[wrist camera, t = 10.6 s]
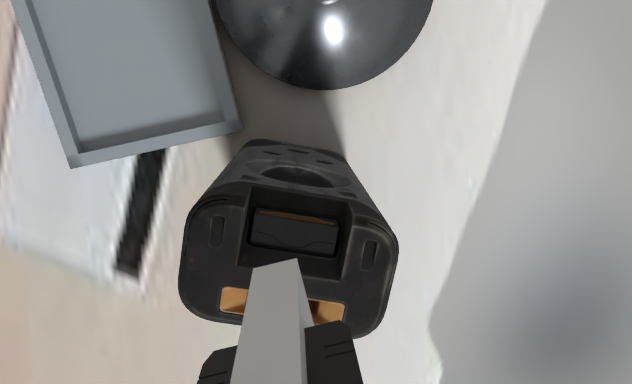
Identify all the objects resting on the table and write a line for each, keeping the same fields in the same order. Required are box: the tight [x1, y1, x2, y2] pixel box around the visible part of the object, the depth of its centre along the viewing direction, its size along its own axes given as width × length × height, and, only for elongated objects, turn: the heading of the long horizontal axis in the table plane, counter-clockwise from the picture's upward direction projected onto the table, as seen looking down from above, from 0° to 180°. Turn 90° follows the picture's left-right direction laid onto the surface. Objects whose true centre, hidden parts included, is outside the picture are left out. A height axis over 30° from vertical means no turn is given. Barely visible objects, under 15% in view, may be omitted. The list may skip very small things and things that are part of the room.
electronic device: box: [178, 139, 399, 339], centre depth 29 cm, size 9×6×20 cm, turn 80°
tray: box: [11, 0, 243, 169], centre depth 35 cm, size 14×16×2 cm
